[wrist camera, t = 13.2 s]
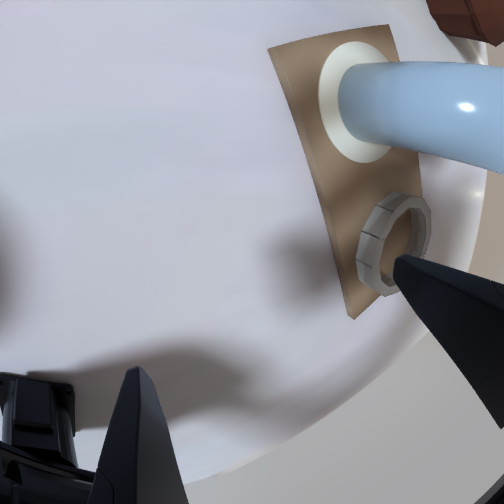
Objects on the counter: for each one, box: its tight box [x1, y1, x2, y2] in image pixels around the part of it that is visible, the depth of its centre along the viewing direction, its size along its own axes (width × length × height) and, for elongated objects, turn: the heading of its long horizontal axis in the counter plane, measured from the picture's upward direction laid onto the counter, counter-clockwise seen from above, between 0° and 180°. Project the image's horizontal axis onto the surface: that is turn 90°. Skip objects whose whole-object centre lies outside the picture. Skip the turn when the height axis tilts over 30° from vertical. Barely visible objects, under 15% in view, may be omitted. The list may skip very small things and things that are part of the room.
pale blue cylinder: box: [338, 61, 504, 175], centre depth 16 cm, size 9×6×12 cm
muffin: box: [426, 0, 504, 47], centre depth 18 cm, size 12×11×10 cm
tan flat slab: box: [267, 24, 431, 319], centre depth 24 cm, size 26×13×3 cm, turn 24°
